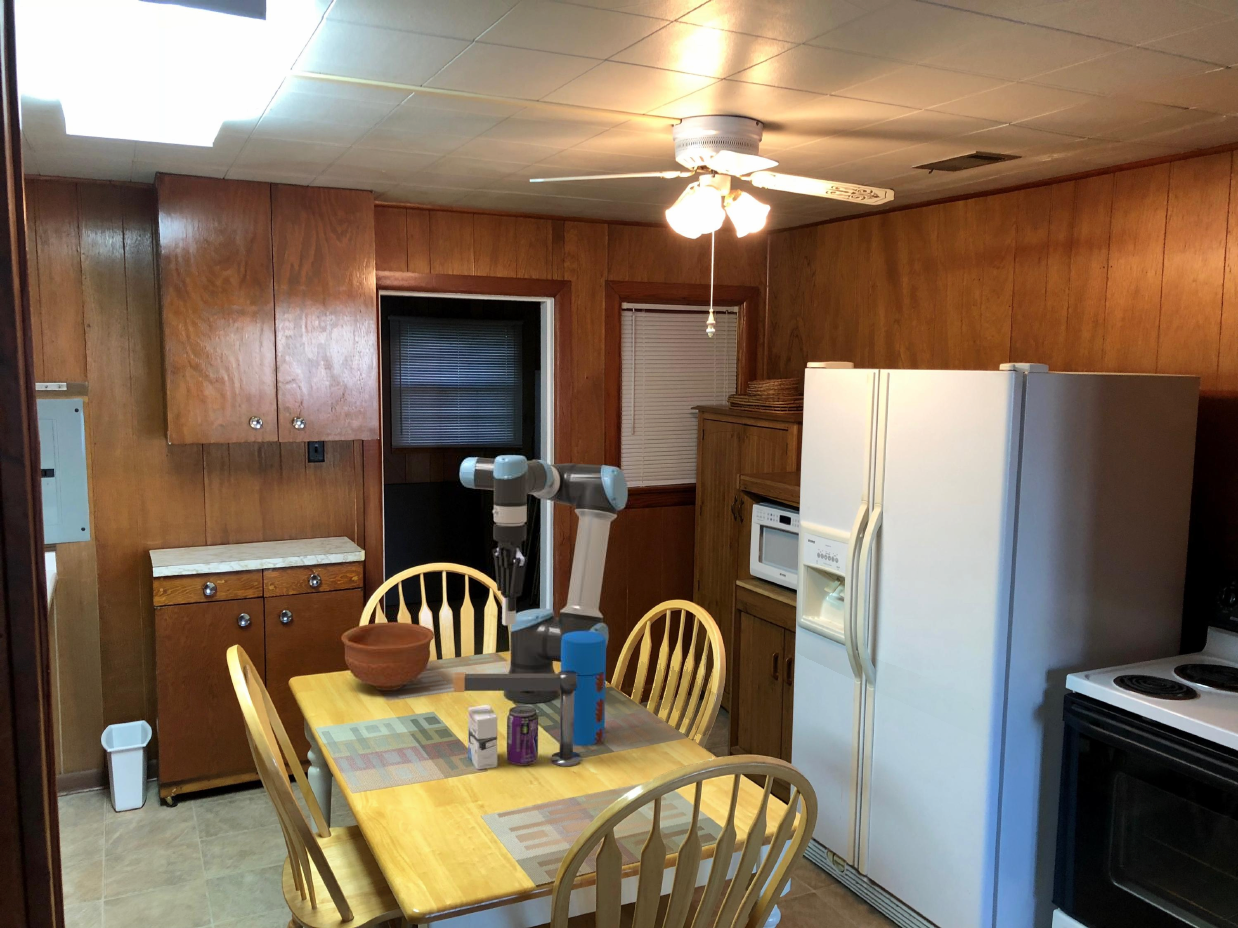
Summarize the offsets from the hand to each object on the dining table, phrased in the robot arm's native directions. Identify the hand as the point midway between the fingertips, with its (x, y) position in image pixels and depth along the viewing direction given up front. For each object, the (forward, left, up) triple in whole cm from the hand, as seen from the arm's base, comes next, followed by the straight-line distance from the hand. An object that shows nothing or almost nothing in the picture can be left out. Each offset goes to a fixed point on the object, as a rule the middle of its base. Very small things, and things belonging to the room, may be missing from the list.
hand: (508, 623), depth 222 cm
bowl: (-2, -57, -31) cm, 65 cm away
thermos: (-18, +6, -31) cm, 36 cm away
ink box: (+8, +1, -31) cm, 32 cm away
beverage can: (+1, +7, -31) cm, 31 cm away
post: (-6, +14, -30) cm, 34 cm away
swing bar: (+3, +6, -13) cm, 15 cm away
